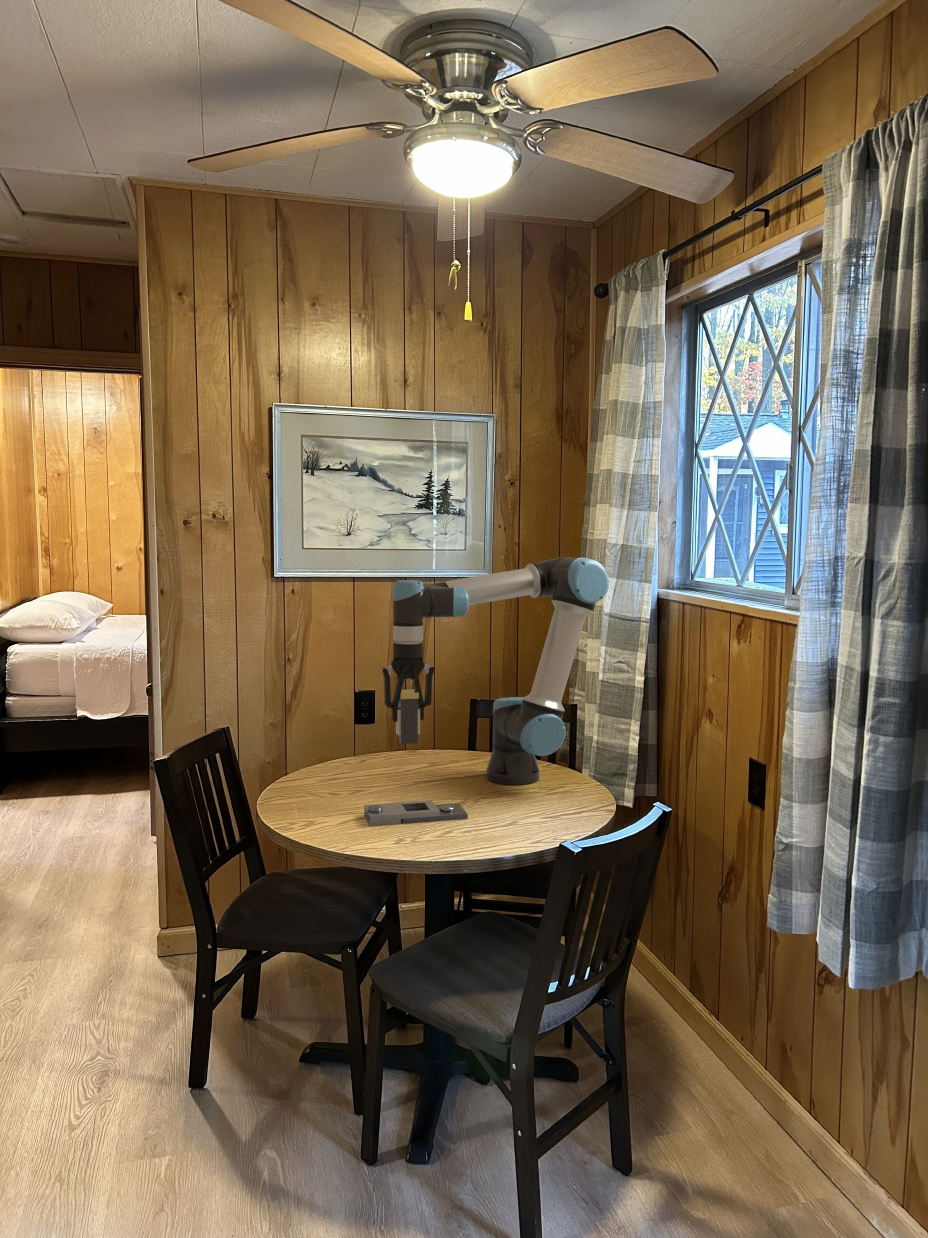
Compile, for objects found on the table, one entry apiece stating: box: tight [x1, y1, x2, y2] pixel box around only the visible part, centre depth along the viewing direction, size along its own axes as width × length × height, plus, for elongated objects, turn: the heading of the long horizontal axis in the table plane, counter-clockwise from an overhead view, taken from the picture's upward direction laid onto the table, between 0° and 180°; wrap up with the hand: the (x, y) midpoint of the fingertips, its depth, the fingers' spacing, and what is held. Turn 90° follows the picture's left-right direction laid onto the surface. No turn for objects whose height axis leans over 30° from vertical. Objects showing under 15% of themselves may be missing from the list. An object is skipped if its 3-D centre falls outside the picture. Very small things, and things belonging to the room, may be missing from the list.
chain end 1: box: [363, 800, 440, 827], centre depth 222 cm, size 17×9×3 cm, turn 105°
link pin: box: [397, 688, 419, 745], centre depth 230 cm, size 5×5×13 cm
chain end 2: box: [401, 802, 469, 824], centre depth 224 cm, size 16×9×2 cm, turn 105°
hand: (407, 733), depth 231 cm, fingers closed on link pin, 4 cm apart
